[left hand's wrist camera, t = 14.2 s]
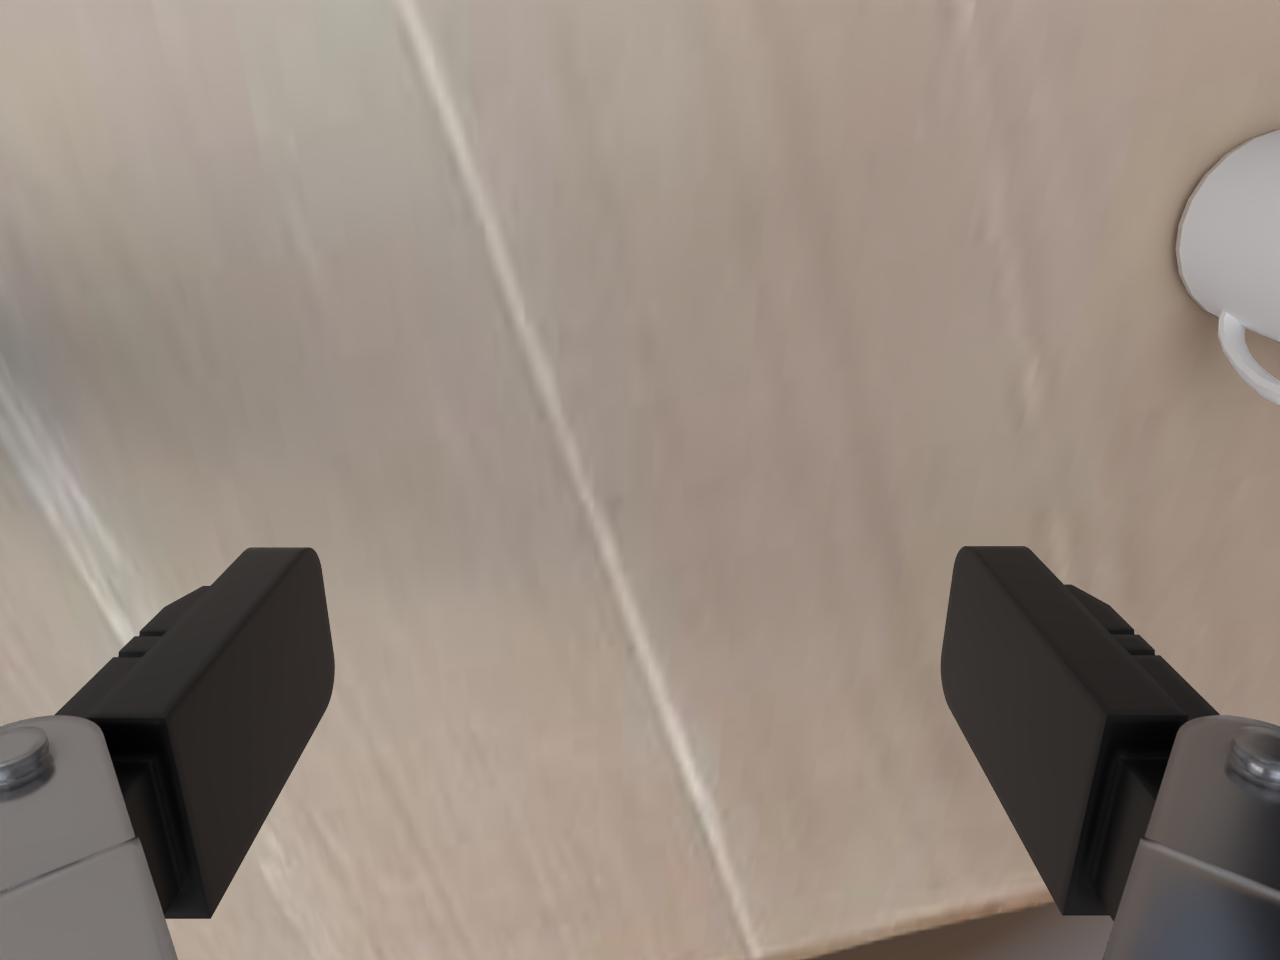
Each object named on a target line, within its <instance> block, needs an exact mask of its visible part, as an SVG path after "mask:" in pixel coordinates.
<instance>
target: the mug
mask: <svg viewBox="0 0 1280 960" xmlns="http://www.w3.org/2000/svg"><path fill="white" fill-rule="evenodd" d="M1175 250H1176V257H1177V264H1178V272H1179V275H1180V277H1181V279H1182V282H1183V284H1184V286H1185V288H1186V290H1187V292H1188V294H1189V295H1190V296H1191V297H1192V298H1193V299H1194V300H1195V302H1196V303H1197V304H1198V305H1199V306H1200V307H1201V308H1202V309H1203V310H1205V311H1207V312H1209V313H1210V314H1212V315H1214V316H1216V317H1218V318H1219V329H1218V338H1219V341H1220V344H1221V347H1222V349H1223V352H1224V354H1225V356H1226V357H1227V359H1228V360H1229V361H1230V363H1231V364H1232V366H1233V367H1234V369H1235V370H1236V371H1237V373H1238V374H1239V375H1240V377H1241V378H1242V379H1243V380H1244V381H1245V382H1246V383H1247V384H1248V385H1250V386H1251V387H1252V388H1253V389H1254V390H1255V391H1256V392H1257V393H1259V394H1260V395H1261V396H1262V397H1264V398H1266V399H1268V400H1270V401H1272V402H1274V403H1276V404H1278V405H1280V381H1279V380H1277V379H1276V378H1274V377H1273V376H1272V375H1271V374H1269V373H1268V372H1267V371H1266V370H1264V369H1263V368H1262V367H1261V366H1260V365H1259V364H1258V363H1257V362H1256V361H1255V360H1254V359H1253V357H1252V356H1251V354H1250V352H1249V350H1248V347H1247V345H1246V343H1245V330H1246V329H1247V330H1250V331H1253V332H1255V333H1258V334H1260V335H1263V336H1265V337H1268V338H1270V339H1273V340H1275V341H1278V342H1280V129H1276V130H1273V131H1270V132H1268V133H1265V134H1262V135H1259V136H1256V137H1253V138H1251V139H1249V140H1247V141H1246V142H1244V143H1243V144H1241V145H1239V146H1238V147H1236V148H1235V149H1233V150H1231V151H1230V152H1228V153H1227V154H1225V155H1224V156H1223V157H1222V158H1221V159H1220V160H1219V161H1218V162H1217V163H1216V164H1215V165H1214V166H1213V167H1212V168H1211V169H1210V170H1209V171H1208V172H1207V173H1206V174H1205V175H1204V176H1203V178H1202V179H1201V181H1200V182H1199V184H1198V185H1197V187H1196V188H1195V190H1194V191H1193V193H1192V194H1191V196H1190V197H1189V199H1188V201H1187V204H1186V206H1185V209H1184V211H1183V214H1182V217H1181V219H1180V222H1179V225H1178V233H1177V240H1176V248H1175Z"/></svg>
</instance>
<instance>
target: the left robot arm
mask: <svg viewBox="0 0 1280 960" xmlns="http://www.w3.org/2000/svg"><path fill="white" fill-rule="evenodd" d="M334 671H335V664H334V653H333V646H332V639H331V632H330V625H329V618H328V611H327V604H326V596H325V589H324V582H323V575H322V569H321V564H320V560H319V558H318V555H317V553H316V552H315V551H314V550H313V549H312V548H248V549H246V550H245V551H244V552H243V553H242V554H241V555H240V556H239V557H238V558H237V559H236V560H235V561H234V562H233V563H232V564H231V565H230V566H229V567H228V568H227V569H226V570H225V572H224V573H223V574H222V575H221V576H220V577H219V578H218V579H217V580H216V581H215V582H214V583H213V584H212V585H211V586H202V587H200V588H199V589H197V590H195V591H193V592H191V593H189V594H188V595H186V596H184V597H182V598H180V599H178V600H177V601H175V602H173V603H171V604H169V605H167V606H166V607H164V608H163V609H162V610H161V611H160V612H159V613H158V614H157V615H156V616H155V617H154V618H153V619H152V620H151V621H150V622H149V623H148V624H147V625H146V626H145V627H144V628H143V629H142V630H141V631H140V636H135V637H134V638H133V639H132V640H131V641H129V642H128V643H127V644H126V645H125V646H124V647H123V648H122V649H121V650H120V651H119V656H118V657H113V658H112V659H111V660H110V661H109V662H108V663H107V664H106V665H105V666H104V667H103V668H102V669H101V670H100V671H99V672H98V673H97V674H96V675H95V676H94V677H93V678H92V679H91V680H90V681H89V682H88V683H87V684H86V685H85V686H84V687H83V688H82V689H81V690H80V691H78V692H77V693H76V694H75V695H74V696H73V697H72V698H71V699H70V700H69V701H68V702H67V703H66V704H65V705H64V706H63V707H62V708H61V709H60V710H59V711H58V712H57V713H56V714H55V715H54V716H43V717H36V718H30V719H25V720H21V721H17V722H13V723H10V724H6V725H3V726H0V960H178V958H177V955H176V952H175V949H174V946H173V942H172V939H171V936H170V933H169V930H168V927H167V923H166V920H165V919H211V917H212V915H213V913H214V912H215V910H216V908H217V906H218V904H219V903H220V901H221V899H222V897H223V895H224V894H225V892H226V890H227V888H228V886H229V884H230V883H231V881H232V879H233V877H234V875H235V874H236V872H237V870H238V868H239V866H240V865H241V863H242V861H243V859H244V857H245V855H246V854H247V852H248V850H249V848H250V846H251V845H252V843H253V841H254V839H255V837H256V836H257V834H258V832H259V830H260V828H261V826H262V825H263V823H264V821H265V819H266V817H267V816H268V814H269V812H270V810H271V808H272V807H273V805H274V803H275V801H276V799H277V798H278V796H279V794H280V792H281V790H282V788H283V787H284V785H285V783H286V781H287V779H288V778H289V776H290V774H291V772H292V770H293V769H294V767H295V765H296V763H297V761H298V759H299V758H300V756H301V754H302V752H303V750H304V749H305V747H306V745H307V743H308V741H309V740H310V738H311V736H312V734H313V732H314V731H315V729H316V727H317V725H318V723H319V721H320V720H321V718H322V716H323V714H324V712H325V711H326V709H327V706H328V704H329V701H330V698H331V694H332V689H333V683H334ZM941 679H942V686H943V691H944V695H945V699H946V702H947V704H948V706H949V708H950V710H951V712H952V714H953V716H954V718H955V719H956V721H957V723H958V725H959V727H960V729H961V730H962V732H963V734H964V736H965V738H966V740H967V741H968V743H969V745H970V747H971V749H972V751H973V752H974V754H975V756H976V758H977V760H978V762H979V763H980V765H981V767H982V769H983V771H984V773H985V774H986V776H987V778H988V780H989V782H990V784H991V785H992V787H993V789H994V791H995V793H996V795H997V796H998V798H999V800H1000V802H1001V804H1002V806H1003V807H1004V809H1005V811H1006V813H1007V815H1008V817H1009V818H1010V820H1011V822H1012V824H1013V826H1014V828H1015V829H1016V831H1017V833H1018V835H1019V837H1020V839H1021V840H1022V842H1023V844H1024V846H1025V848H1026V850H1027V851H1028V853H1029V855H1030V857H1031V859H1032V861H1033V862H1034V864H1035V866H1036V868H1037V870H1038V872H1039V873H1040V875H1041V877H1042V879H1043V881H1044V883H1045V884H1046V886H1047V888H1048V890H1049V892H1050V894H1051V895H1052V897H1053V899H1054V901H1055V903H1056V905H1057V906H1058V908H1059V910H1060V912H1061V914H1062V915H1110V916H1111V918H1112V919H1113V921H1114V924H1113V927H1112V930H1111V933H1110V936H1109V939H1108V942H1107V946H1106V949H1105V952H1104V955H1103V958H1102V960H1280V726H1277V725H1274V724H1270V723H1267V722H1263V721H1259V720H1255V719H1250V718H1244V717H1237V716H1226V715H1220V714H1219V713H1218V712H1217V711H1216V710H1215V709H1214V708H1213V707H1212V706H1211V705H1210V704H1209V703H1208V702H1207V701H1206V700H1205V699H1204V698H1203V697H1202V696H1200V695H1199V694H1198V693H1197V692H1196V691H1195V690H1194V689H1193V688H1192V687H1191V686H1190V685H1189V684H1188V683H1187V682H1186V681H1185V680H1184V679H1183V678H1182V677H1181V676H1180V675H1179V674H1178V673H1177V672H1176V671H1175V670H1174V669H1173V668H1172V667H1171V666H1170V665H1169V664H1168V663H1167V662H1166V661H1165V660H1164V659H1163V658H1162V657H1161V656H1160V655H1155V650H1154V649H1153V648H1152V647H1151V646H1150V645H1149V644H1148V643H1147V642H1146V641H1145V640H1144V639H1143V638H1142V637H1141V636H1140V635H1134V629H1133V628H1132V627H1131V626H1130V625H1129V624H1128V623H1127V622H1126V621H1125V620H1124V619H1123V618H1122V617H1121V616H1120V615H1119V614H1118V613H1117V612H1116V611H1115V610H1114V609H1113V608H1112V607H1111V606H1110V605H1108V604H1106V603H1104V602H1102V601H1100V600H1099V599H1097V598H1095V597H1093V596H1091V595H1089V594H1088V593H1086V592H1084V591H1082V590H1080V589H1078V588H1077V587H1075V586H1073V585H1064V584H1063V583H1062V582H1061V581H1060V580H1059V579H1058V578H1057V577H1056V576H1055V575H1054V574H1053V573H1052V572H1051V571H1050V570H1049V569H1048V568H1047V567H1046V566H1045V565H1044V563H1043V562H1042V561H1041V560H1040V559H1039V558H1038V557H1037V556H1036V555H1035V554H1034V553H1033V552H1032V551H1031V550H1030V549H1029V548H1027V547H1025V546H964V547H962V548H961V549H960V551H959V552H958V554H957V557H956V560H955V563H954V569H953V576H952V583H951V590H950V597H949V604H948V611H947V618H946V625H945V632H944V640H943V647H942V654H941Z"/></svg>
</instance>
